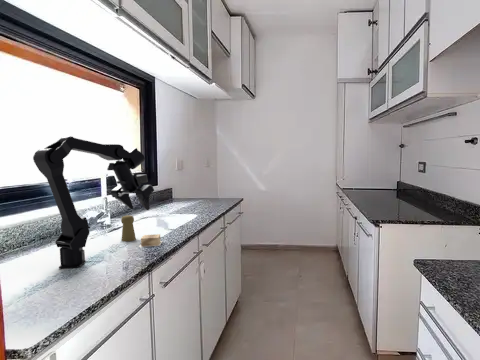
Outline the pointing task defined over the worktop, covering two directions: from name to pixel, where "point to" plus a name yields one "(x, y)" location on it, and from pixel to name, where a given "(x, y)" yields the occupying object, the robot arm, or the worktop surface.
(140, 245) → the pale blue tile
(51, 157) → the robot arm
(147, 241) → the oak block
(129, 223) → the cork
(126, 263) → the worktop surface
